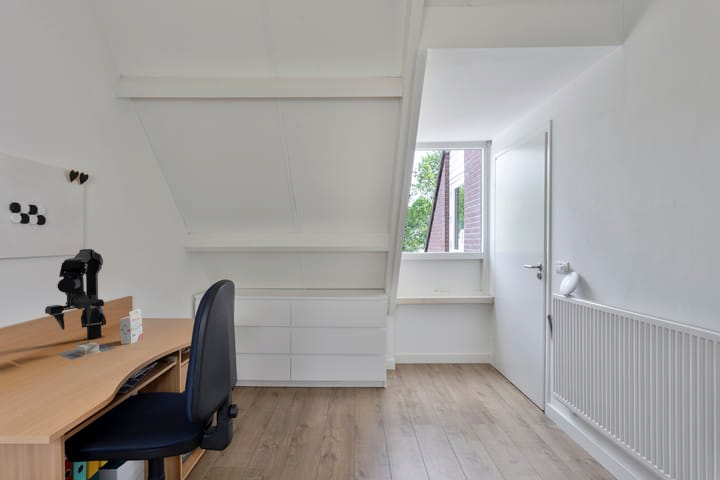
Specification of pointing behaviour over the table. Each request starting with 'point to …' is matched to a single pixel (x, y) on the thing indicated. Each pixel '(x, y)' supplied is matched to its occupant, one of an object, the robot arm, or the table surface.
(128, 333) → the ink cartridge box
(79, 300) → the robot arm
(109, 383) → the table surface
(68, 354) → the charcoal mat
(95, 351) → the off-white banded block
